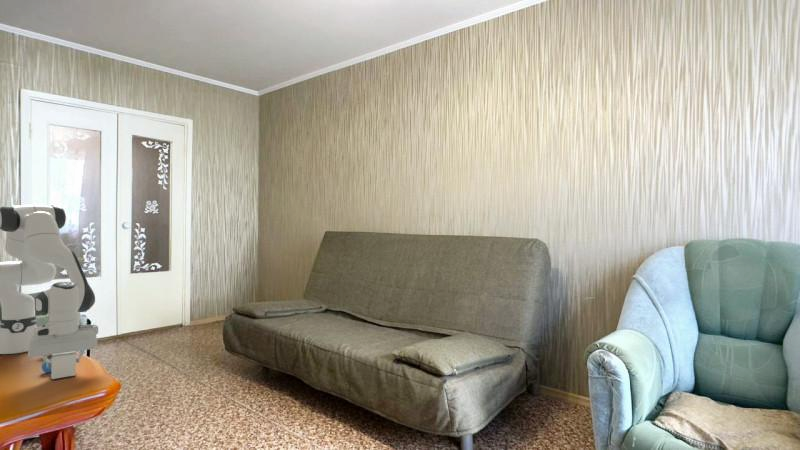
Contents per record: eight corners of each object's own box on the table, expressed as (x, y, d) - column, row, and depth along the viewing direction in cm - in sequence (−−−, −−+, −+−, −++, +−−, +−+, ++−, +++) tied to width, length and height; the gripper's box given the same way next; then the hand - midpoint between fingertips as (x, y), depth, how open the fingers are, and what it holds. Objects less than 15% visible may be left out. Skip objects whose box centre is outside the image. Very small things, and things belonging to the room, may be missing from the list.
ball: (41, 371, 165) (41, 358, 165) (58, 369, 168) (58, 356, 168) (41, 375, 161) (41, 362, 161) (58, 372, 164) (58, 359, 164)
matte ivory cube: (51, 373, 162) (51, 353, 161) (75, 369, 166) (75, 349, 166) (51, 379, 156) (51, 358, 156) (75, 375, 160) (76, 354, 160)
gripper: (97, 321, 170) (97, 357, 170) (28, 328, 157) (28, 367, 157) (99, 324, 165) (98, 361, 165) (27, 332, 152) (27, 372, 152)
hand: (63, 364), depth 161 cm, fingers closed on matte ivory cube, 7 cm apart
